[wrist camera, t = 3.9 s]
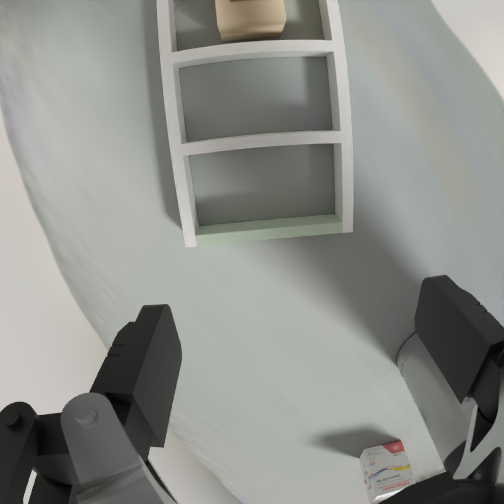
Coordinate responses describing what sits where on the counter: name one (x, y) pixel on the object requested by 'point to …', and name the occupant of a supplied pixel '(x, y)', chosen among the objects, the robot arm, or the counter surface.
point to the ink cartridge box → (385, 471)
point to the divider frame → (182, 149)
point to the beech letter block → (250, 18)
